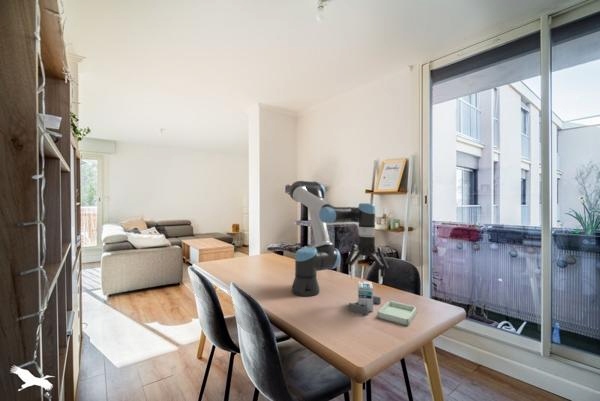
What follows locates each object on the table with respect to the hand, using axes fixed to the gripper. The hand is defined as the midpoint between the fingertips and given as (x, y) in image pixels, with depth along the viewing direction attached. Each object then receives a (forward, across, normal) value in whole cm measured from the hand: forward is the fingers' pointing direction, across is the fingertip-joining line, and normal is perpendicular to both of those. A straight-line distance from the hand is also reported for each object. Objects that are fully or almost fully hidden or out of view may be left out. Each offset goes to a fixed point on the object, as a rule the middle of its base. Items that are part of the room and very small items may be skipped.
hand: (366, 281), depth 126 cm
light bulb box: (+12, 0, 0) cm, 13 cm away
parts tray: (+12, +14, 0) cm, 19 cm away
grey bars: (+12, 0, 0) cm, 12 cm away
